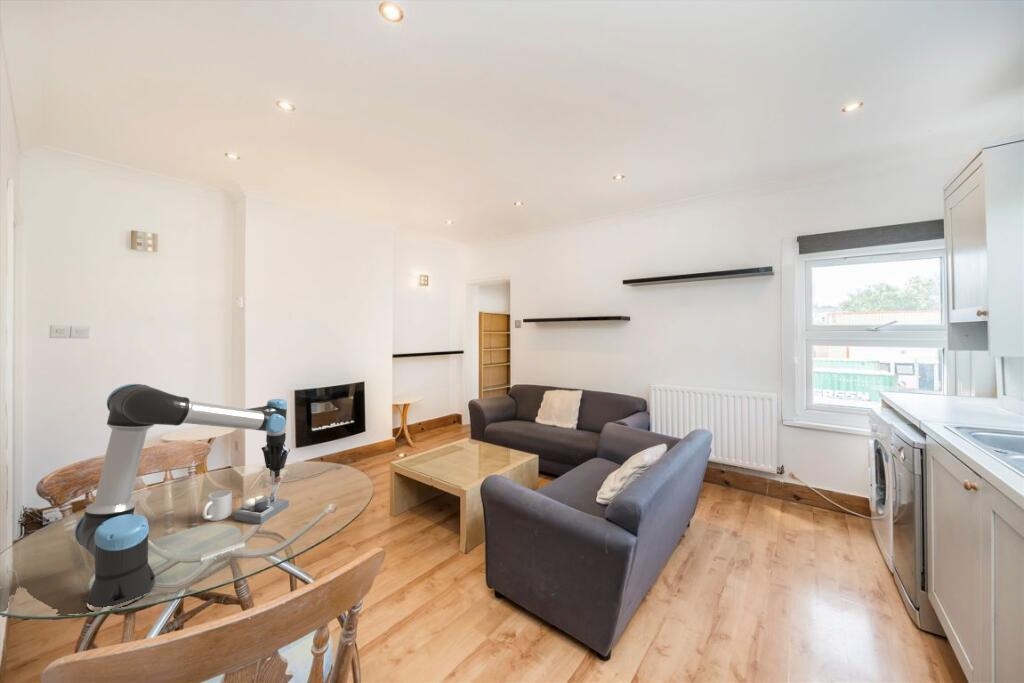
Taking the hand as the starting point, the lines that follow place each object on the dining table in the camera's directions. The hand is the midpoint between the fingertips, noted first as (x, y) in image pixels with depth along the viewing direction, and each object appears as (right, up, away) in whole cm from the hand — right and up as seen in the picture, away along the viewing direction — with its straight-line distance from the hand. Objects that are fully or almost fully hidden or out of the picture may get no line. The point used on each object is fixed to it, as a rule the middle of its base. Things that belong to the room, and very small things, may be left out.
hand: (274, 483), depth 173 cm
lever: (-2, -8, +1) cm, 9 cm away
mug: (-20, -12, -9) cm, 25 cm away
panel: (-4, -12, -2) cm, 13 cm away
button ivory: (-7, -8, -7) cm, 12 cm away
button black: (-1, -9, -8) cm, 12 cm away
